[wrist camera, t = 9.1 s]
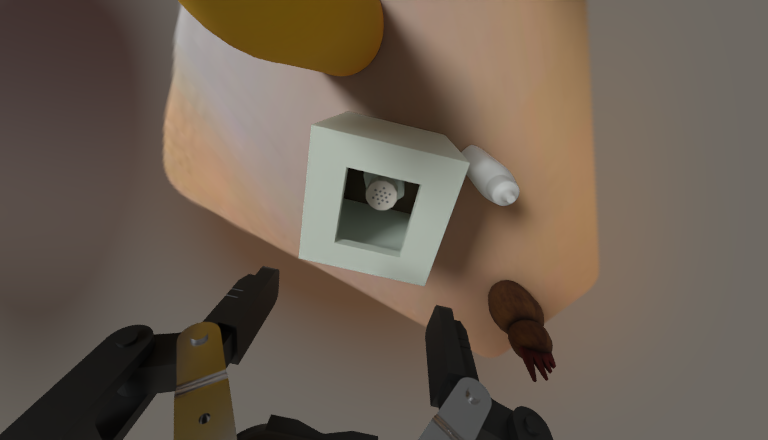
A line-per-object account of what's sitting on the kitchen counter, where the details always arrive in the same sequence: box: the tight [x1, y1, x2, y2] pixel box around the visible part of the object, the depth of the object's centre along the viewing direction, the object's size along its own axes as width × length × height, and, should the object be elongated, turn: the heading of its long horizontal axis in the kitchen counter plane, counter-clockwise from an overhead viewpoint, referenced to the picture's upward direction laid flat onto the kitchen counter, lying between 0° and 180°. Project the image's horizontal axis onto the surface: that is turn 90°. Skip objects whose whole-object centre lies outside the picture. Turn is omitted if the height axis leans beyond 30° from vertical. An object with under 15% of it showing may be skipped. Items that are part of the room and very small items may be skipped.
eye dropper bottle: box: [461, 145, 520, 206], centre depth 29 cm, size 4×6×12 cm
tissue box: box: [299, 111, 470, 286], centre depth 29 cm, size 12×12×14 cm
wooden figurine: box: [488, 280, 556, 382], centre depth 35 cm, size 7×6×15 cm
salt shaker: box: [363, 171, 404, 210], centre depth 31 cm, size 4×4×10 cm
